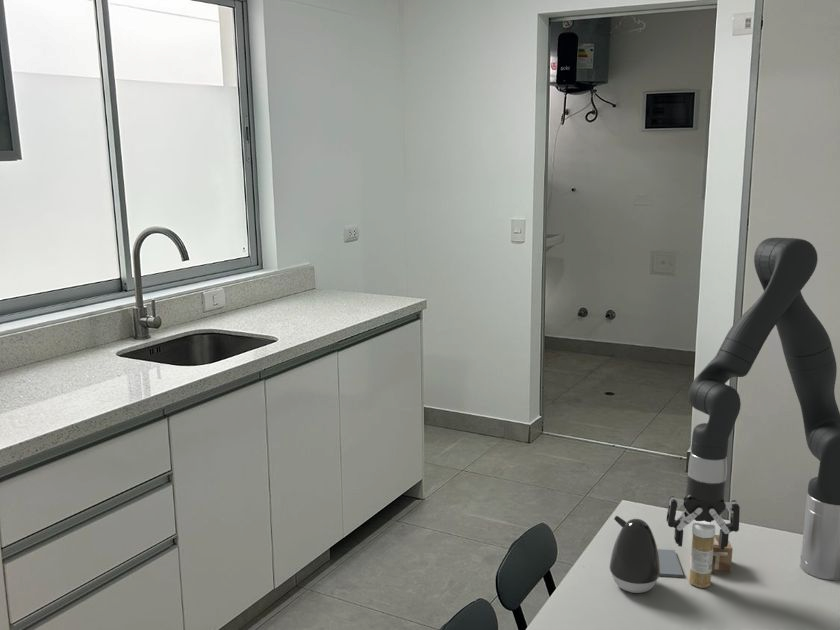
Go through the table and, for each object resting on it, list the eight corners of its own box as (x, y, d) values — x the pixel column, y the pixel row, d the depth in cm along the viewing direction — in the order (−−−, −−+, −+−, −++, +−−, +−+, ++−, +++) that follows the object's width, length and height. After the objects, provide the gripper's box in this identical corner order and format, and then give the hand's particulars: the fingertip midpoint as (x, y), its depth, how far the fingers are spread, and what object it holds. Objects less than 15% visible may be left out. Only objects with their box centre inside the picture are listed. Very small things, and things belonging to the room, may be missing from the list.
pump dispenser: (624, 568, 180) (628, 504, 177) (667, 586, 173) (672, 519, 170) (598, 585, 173) (601, 519, 170) (642, 605, 166) (646, 536, 163)
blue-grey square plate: (674, 552, 187) (674, 550, 187) (683, 577, 176) (683, 574, 176) (625, 549, 188) (625, 547, 188) (631, 574, 178) (631, 571, 178)
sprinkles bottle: (696, 575, 177) (700, 517, 174) (715, 584, 174) (719, 525, 171) (684, 582, 174) (688, 524, 172) (703, 591, 171) (707, 532, 168)
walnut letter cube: (723, 559, 184) (725, 534, 183) (730, 574, 178) (732, 548, 177) (696, 558, 185) (698, 533, 183) (702, 572, 179) (704, 546, 177)
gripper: (738, 469, 172) (731, 540, 175) (668, 465, 174) (662, 535, 177) (747, 484, 165) (739, 557, 168) (674, 479, 167) (668, 552, 170)
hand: (700, 546), depth 173 cm, fingers open, 8 cm apart
